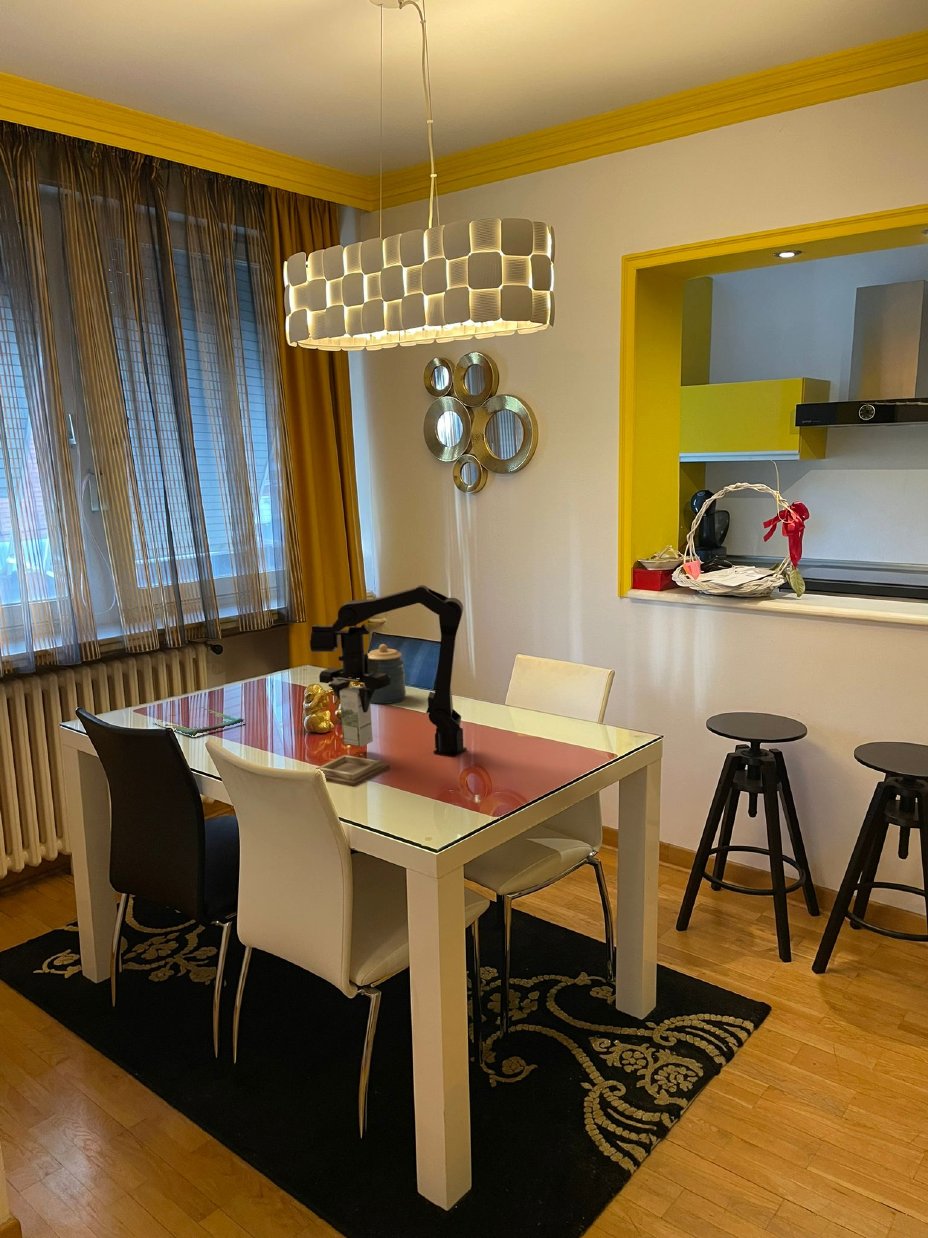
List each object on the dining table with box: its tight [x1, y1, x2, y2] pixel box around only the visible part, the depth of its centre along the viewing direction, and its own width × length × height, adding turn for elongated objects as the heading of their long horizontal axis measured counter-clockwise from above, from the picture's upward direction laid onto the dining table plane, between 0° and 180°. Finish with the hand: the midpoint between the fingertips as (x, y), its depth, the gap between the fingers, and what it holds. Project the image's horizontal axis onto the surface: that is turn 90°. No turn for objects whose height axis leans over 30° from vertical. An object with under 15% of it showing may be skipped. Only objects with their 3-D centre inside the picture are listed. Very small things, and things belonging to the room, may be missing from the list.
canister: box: [365, 643, 407, 705], centre depth 287 cm, size 13×13×18 cm
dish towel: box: [156, 707, 245, 736], centre depth 267 cm, size 17×23×2 cm
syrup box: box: [339, 685, 374, 748], centre depth 234 cm, size 6×6×14 cm
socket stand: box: [315, 754, 390, 787], centre depth 221 cm, size 14×14×2 cm
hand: (356, 711), depth 234 cm, fingers closed on syrup box, 6 cm apart
